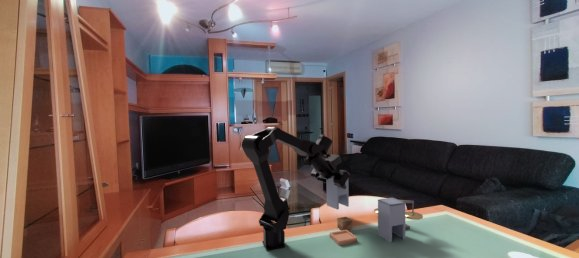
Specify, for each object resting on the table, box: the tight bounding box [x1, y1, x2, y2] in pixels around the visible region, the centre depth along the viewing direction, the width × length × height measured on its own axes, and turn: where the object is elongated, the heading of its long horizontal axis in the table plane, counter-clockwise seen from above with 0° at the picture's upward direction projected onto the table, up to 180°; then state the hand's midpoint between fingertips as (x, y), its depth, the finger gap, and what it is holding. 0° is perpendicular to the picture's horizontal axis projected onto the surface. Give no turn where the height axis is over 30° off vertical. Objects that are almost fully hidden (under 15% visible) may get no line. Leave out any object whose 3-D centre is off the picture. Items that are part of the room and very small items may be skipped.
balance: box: [373, 199, 424, 231], centre depth 107 cm, size 6×24×13 cm, turn 19°
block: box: [336, 216, 353, 232], centre depth 105 cm, size 4×4×4 cm
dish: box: [329, 230, 358, 246], centre depth 97 cm, size 7×7×2 cm
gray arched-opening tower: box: [377, 197, 406, 243], centre depth 98 cm, size 6×6×13 cm
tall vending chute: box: [325, 177, 350, 210], centre depth 116 cm, size 6×6×13 cm
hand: (339, 186), depth 117 cm, fingers closed on tall vending chute, 6 cm apart
